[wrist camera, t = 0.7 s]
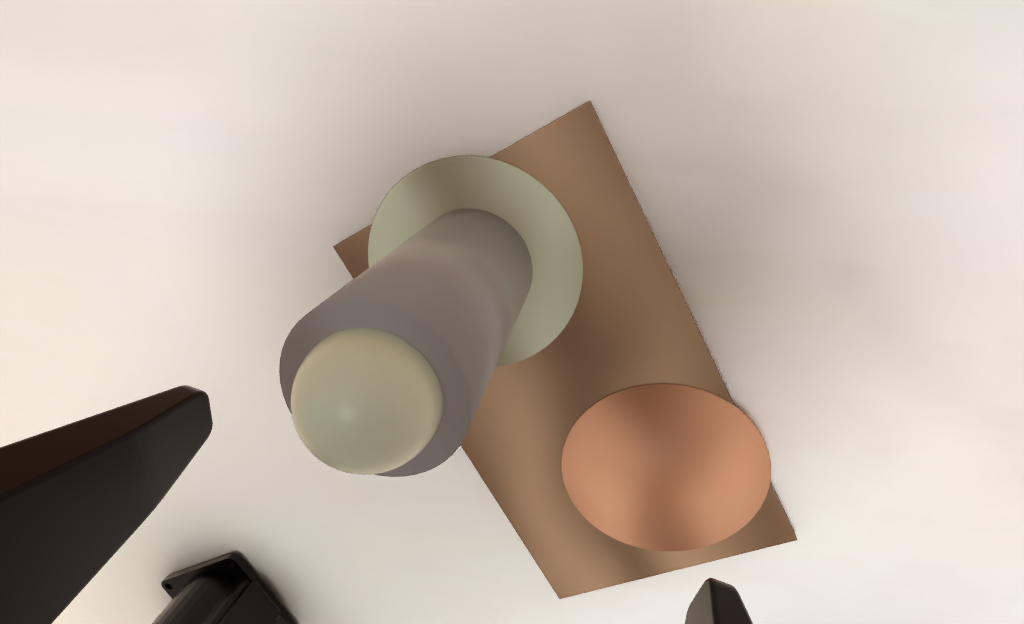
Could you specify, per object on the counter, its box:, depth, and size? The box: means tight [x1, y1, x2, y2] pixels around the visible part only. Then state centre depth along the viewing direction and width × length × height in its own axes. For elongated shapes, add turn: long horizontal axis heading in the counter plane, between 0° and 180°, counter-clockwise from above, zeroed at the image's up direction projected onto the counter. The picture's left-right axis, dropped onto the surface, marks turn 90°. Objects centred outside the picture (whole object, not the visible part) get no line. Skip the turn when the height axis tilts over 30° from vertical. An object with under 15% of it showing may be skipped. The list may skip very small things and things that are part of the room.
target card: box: [333, 101, 797, 599], centre depth 24 cm, size 12×22×1 cm, turn 29°
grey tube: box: [279, 209, 533, 477], centre depth 18 cm, size 5×5×12 cm
